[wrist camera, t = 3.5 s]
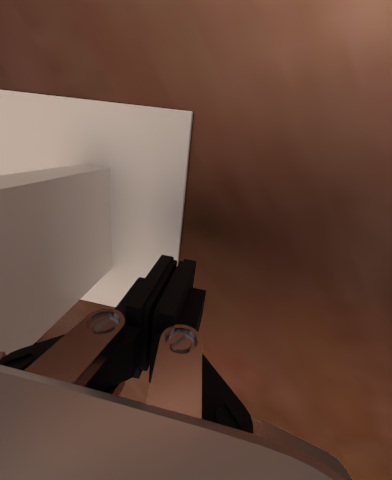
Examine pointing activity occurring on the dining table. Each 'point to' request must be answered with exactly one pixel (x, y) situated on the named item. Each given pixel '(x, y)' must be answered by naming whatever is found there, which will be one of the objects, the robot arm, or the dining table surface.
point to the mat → (121, 170)
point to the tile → (50, 246)
